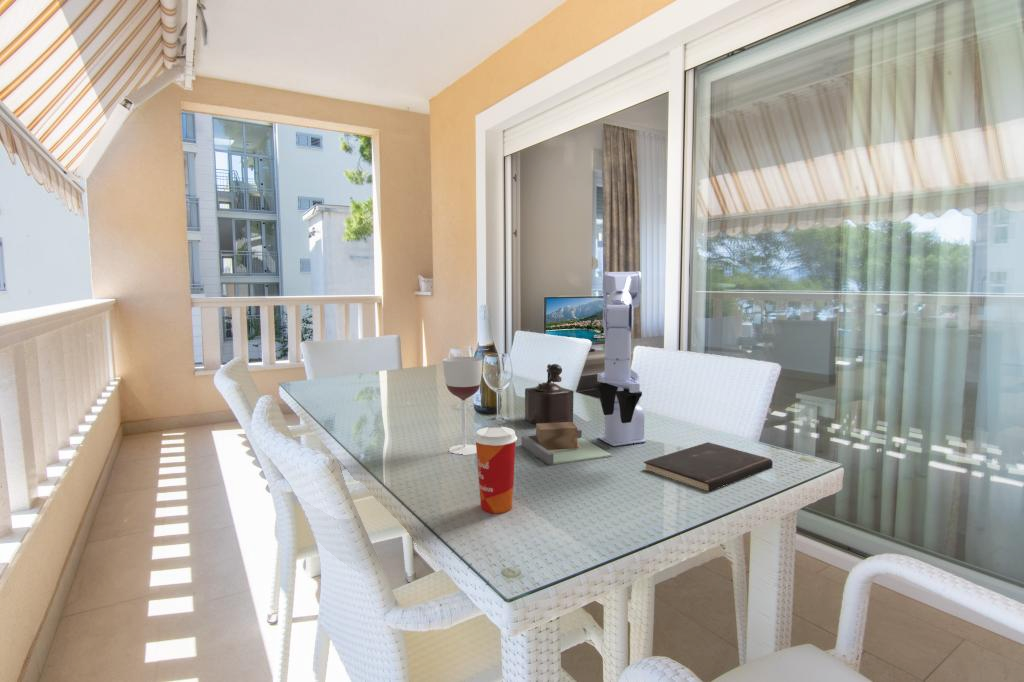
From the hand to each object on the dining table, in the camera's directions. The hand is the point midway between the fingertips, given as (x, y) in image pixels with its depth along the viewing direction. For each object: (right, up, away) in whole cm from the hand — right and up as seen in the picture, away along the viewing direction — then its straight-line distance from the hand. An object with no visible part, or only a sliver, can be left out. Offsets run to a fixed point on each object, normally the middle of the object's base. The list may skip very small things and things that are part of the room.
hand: (617, 418), depth 124 cm
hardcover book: (+19, -11, -5) cm, 22 cm away
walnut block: (-13, -8, +9) cm, 18 cm away
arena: (-11, -9, +8) cm, 16 cm away
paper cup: (-26, -13, -25) cm, 38 cm away
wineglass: (-35, -9, +9) cm, 37 cm away
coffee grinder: (-12, -6, +33) cm, 35 cm away
